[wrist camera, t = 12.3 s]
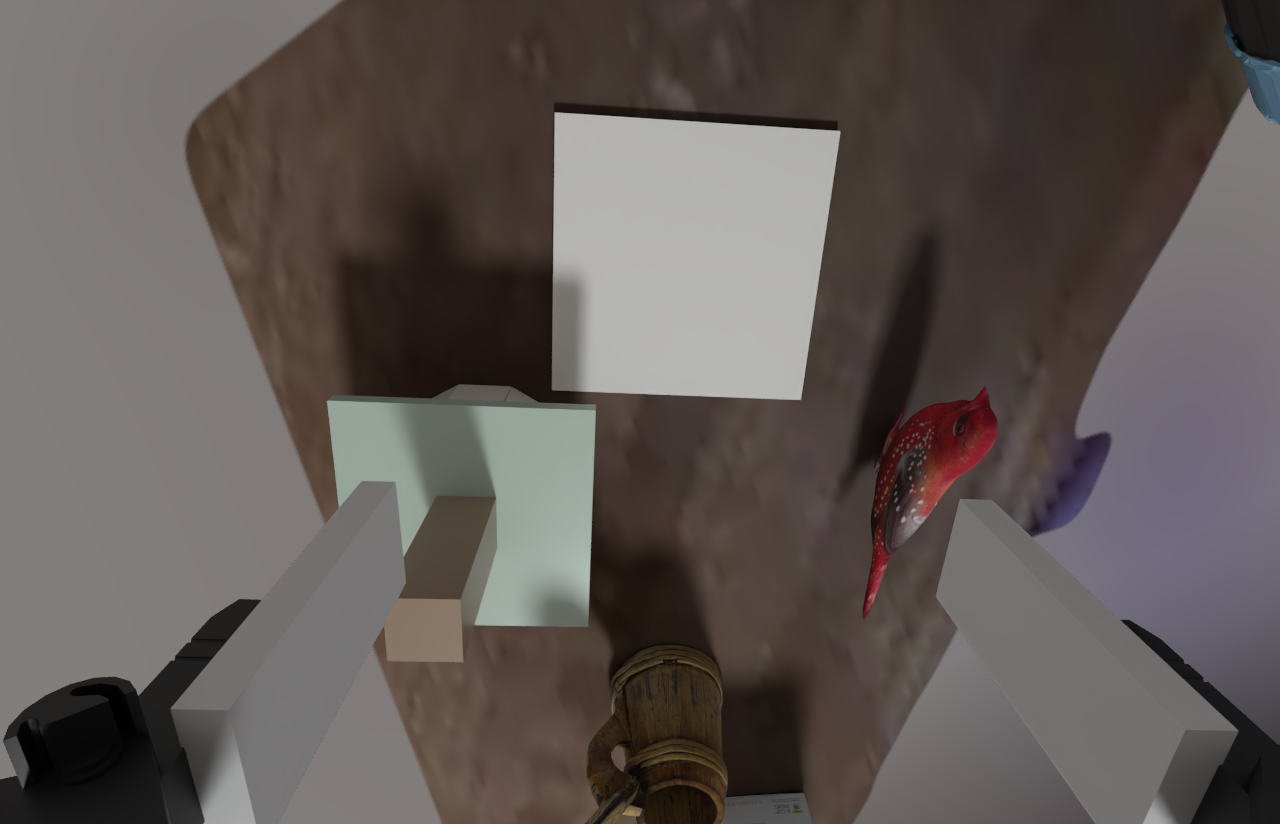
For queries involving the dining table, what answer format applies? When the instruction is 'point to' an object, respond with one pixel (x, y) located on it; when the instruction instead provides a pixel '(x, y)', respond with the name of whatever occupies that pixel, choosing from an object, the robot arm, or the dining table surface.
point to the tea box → (767, 809)
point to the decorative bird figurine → (923, 472)
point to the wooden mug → (662, 741)
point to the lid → (476, 511)
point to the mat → (686, 255)
